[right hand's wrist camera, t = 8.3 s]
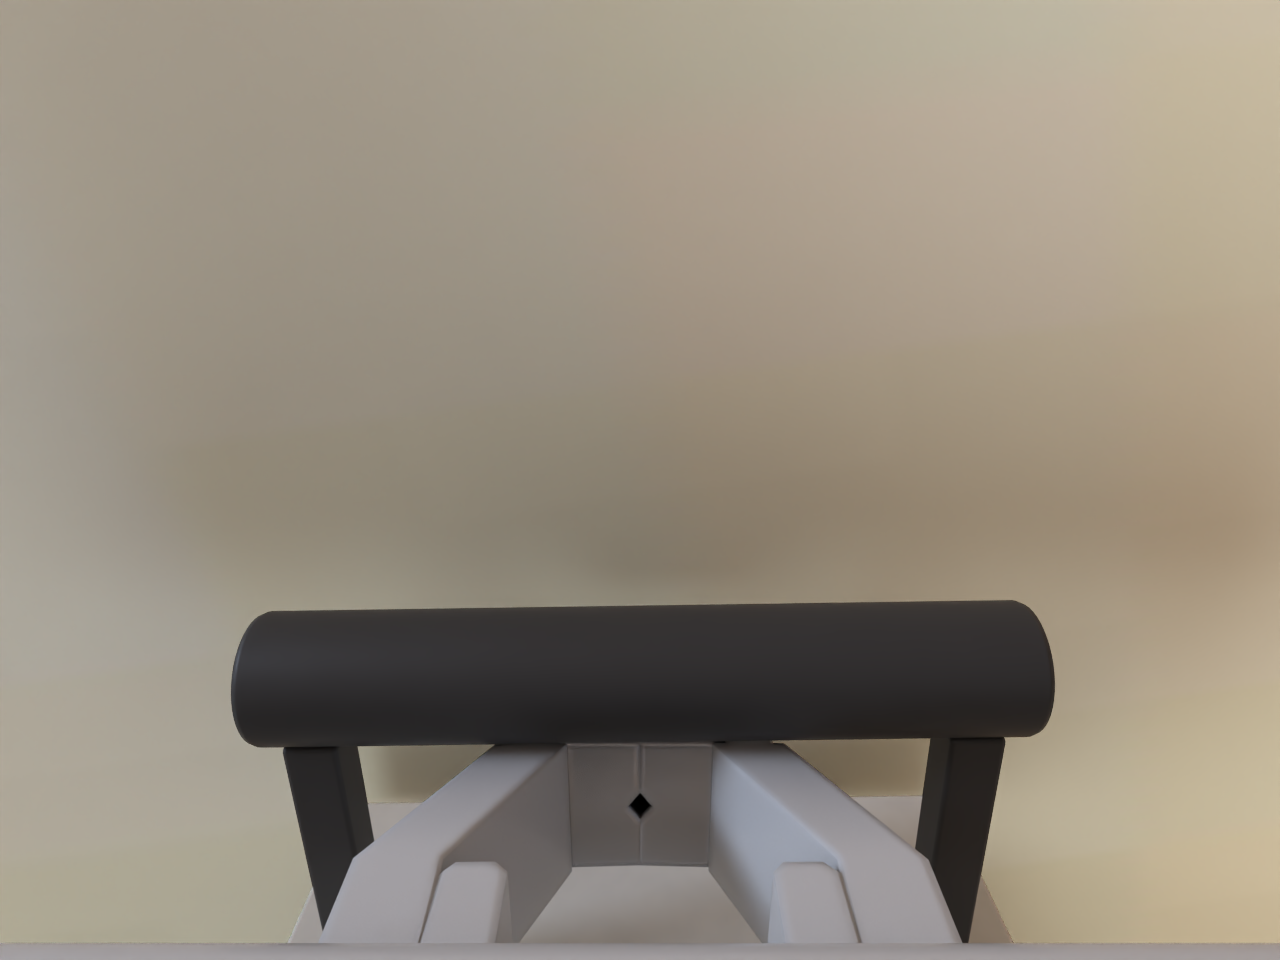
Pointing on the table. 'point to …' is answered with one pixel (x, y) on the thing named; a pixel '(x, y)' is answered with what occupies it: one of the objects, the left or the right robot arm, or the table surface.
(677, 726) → the drawer
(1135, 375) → the table surface
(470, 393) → the table surface
